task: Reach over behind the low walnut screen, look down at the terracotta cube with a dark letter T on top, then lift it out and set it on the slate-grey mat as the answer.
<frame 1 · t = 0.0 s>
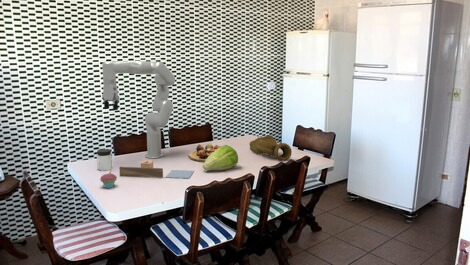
hand: (111, 109, 237), 37 cm above the table, fingers open, 9 cm apart
wooden plate with food: (210, 157, 271), on the table
jar: (105, 169, 239), on the table
lettered cube: (147, 171, 235), on the table
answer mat: (180, 174, 229), on the table
walnut screen: (141, 176, 225), on the table
lettuce: (219, 169, 242), on the table
cupcake: (109, 186, 208), on the table
brown looped sculpture: (269, 156, 273), on the table
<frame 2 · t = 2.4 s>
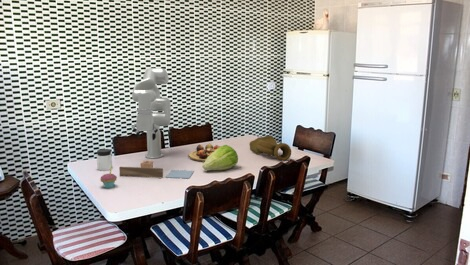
hand: (146, 139, 231), 20 cm above the table, fingers open, 9 cm apart
nothing on the table moved.
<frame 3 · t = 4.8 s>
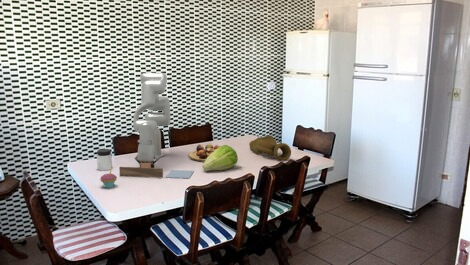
hand: (147, 170, 235), 1 cm above the table, fingers closed on lettered cube, 6 cm apart
lettered cube: (147, 171, 235), on the table, touching gripper
everything else where it was.
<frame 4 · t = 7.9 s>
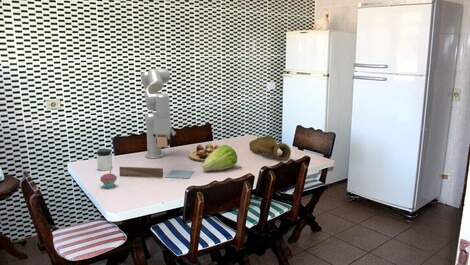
hand: (163, 144, 228), 18 cm above the table, fingers closed on lettered cube, 6 cm apart
lettered cube: (163, 145, 228), point 17 cm above the table, touching gripper
everything else where it was.
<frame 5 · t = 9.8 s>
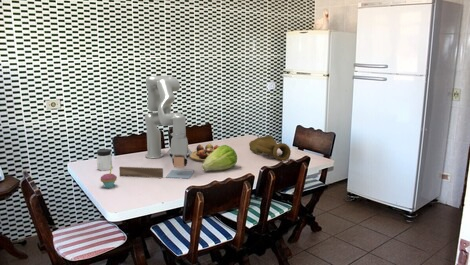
hand: (179, 164, 228), 6 cm above the table, fingers closed on lettered cube, 6 cm apart
lettered cube: (179, 165, 228), point 6 cm above the table, touching gripper
everything else where it was.
when the fingers open (3 cm above the table, at t = 11.0 s): lettered cube drops 1 cm, resting on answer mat.
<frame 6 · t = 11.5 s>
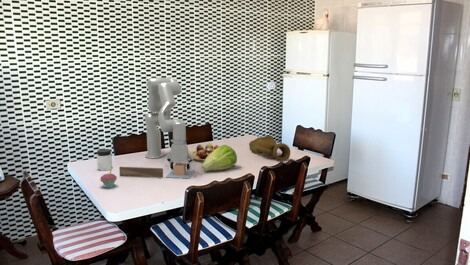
hand: (180, 169, 228), 3 cm above the table, fingers open, 9 cm apart
lettered cube: (180, 173, 229), point 1 cm above the table, touching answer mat
everything else where it was.
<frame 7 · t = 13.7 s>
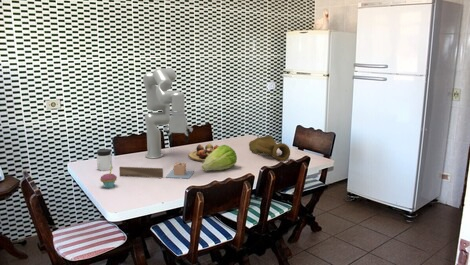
hand: (178, 141, 226), 20 cm above the table, fingers open, 9 cm apart
nothing on the table moved.
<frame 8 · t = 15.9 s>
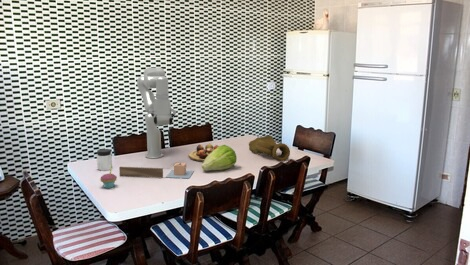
hand: (163, 123, 239), 28 cm above the table, fingers open, 9 cm apart
nothing on the table moved.
at the end: lettered cube inside the target area on the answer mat (0.0 cm from its centre), point 0.6 cm above the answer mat's base; lettered cube tilted 0°; the gripper is holding nothing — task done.
